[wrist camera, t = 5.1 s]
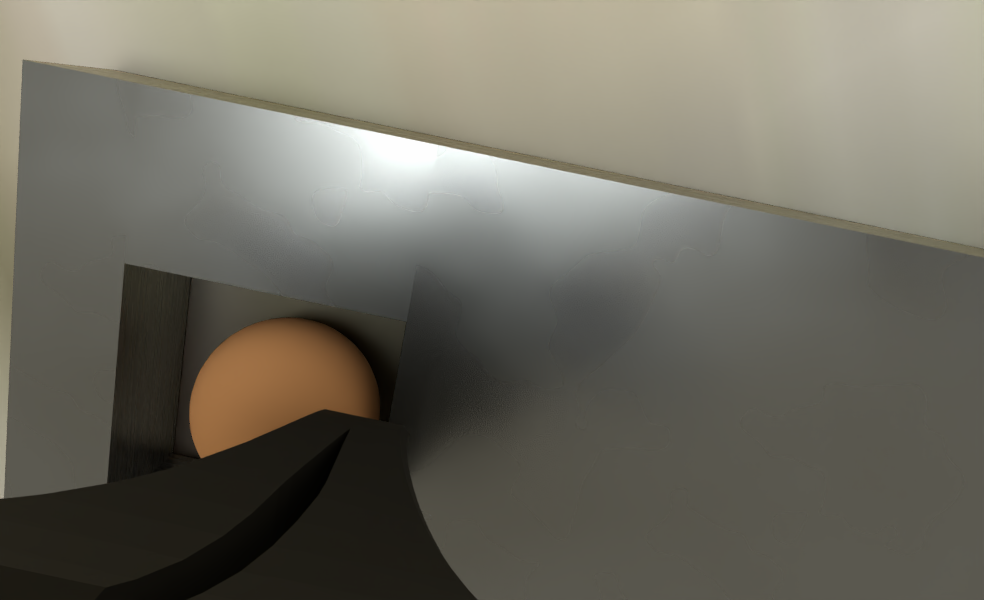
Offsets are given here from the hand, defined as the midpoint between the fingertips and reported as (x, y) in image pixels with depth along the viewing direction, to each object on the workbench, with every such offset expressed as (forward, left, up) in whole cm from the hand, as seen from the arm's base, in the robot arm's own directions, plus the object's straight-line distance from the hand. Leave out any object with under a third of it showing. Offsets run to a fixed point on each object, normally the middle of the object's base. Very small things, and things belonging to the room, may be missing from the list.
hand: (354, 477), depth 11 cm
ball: (+2, 0, -2) cm, 2 cm away
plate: (-3, 0, -3) cm, 5 cm away
